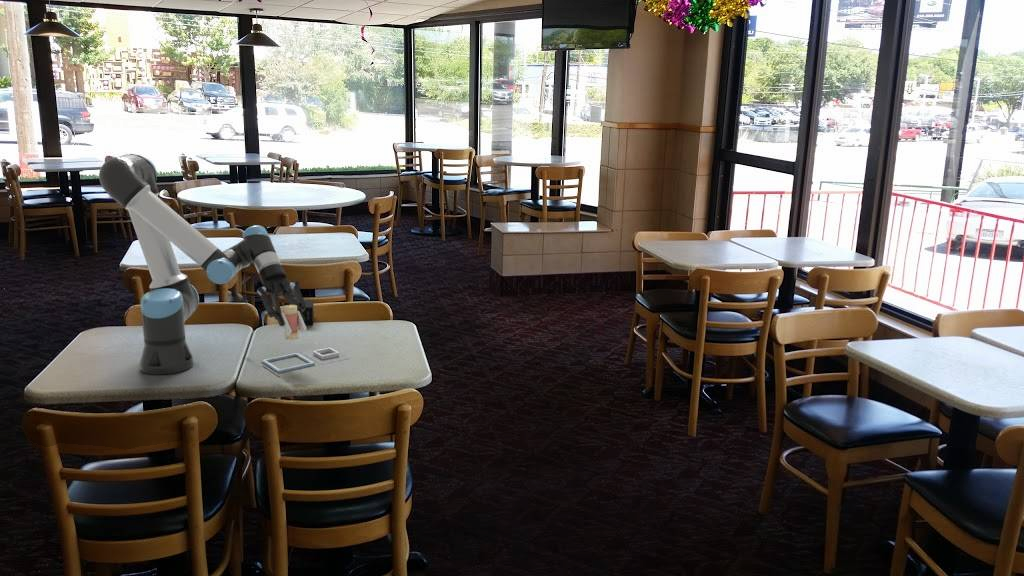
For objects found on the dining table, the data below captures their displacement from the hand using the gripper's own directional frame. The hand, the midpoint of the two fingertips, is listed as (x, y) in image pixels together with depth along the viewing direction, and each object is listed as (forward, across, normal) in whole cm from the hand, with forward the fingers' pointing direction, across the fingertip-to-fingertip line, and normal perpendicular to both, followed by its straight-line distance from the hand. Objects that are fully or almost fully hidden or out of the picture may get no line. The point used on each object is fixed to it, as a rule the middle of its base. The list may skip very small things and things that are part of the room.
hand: (296, 332), depth 240 cm
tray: (+6, +1, -12) cm, 14 cm away
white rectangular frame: (+6, -12, -12) cm, 18 cm away
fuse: (-1, 0, -5) cm, 5 cm away
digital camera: (-24, -26, -42) cm, 55 cm away
